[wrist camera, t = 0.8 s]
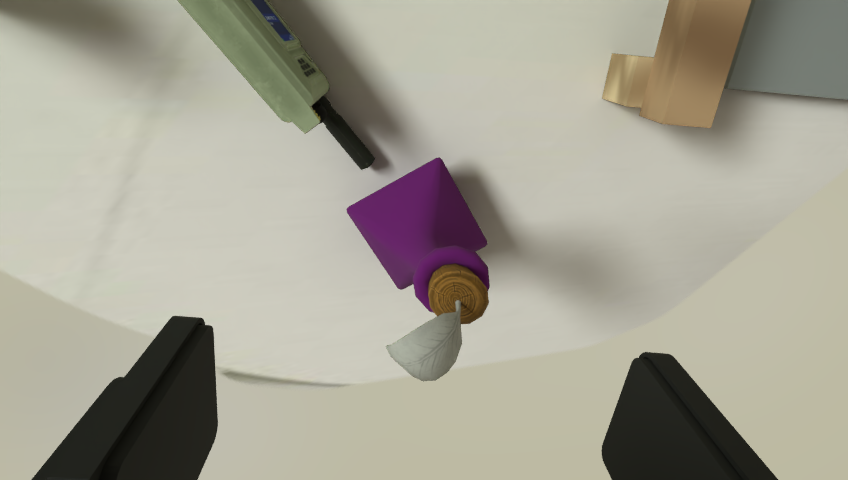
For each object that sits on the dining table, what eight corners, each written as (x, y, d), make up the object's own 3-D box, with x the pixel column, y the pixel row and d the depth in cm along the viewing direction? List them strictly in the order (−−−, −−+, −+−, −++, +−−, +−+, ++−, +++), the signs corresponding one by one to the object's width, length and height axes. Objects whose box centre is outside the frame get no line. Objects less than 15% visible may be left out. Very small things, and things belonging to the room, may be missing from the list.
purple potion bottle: (436, 145, 36) (472, 246, 19) (481, 227, 38) (546, 378, 22) (349, 194, 37) (311, 330, 20) (399, 270, 39) (401, 444, 23)
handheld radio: (107, -210, 27) (389, 146, 36) (70, -165, 28) (354, 172, 36) (19, -275, 21) (384, 173, 30) (-26, -216, 22) (343, 204, 30)
